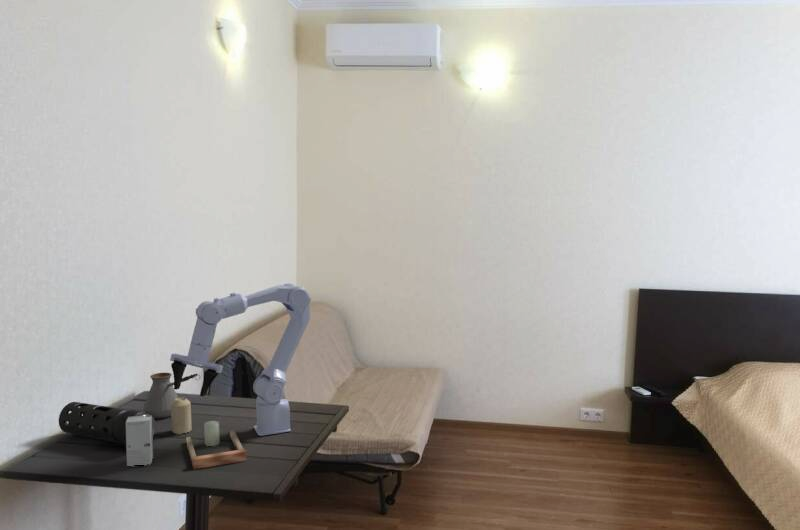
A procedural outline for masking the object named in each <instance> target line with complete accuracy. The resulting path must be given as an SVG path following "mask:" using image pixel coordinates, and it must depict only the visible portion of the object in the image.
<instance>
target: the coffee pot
mask: <svg viewBox="0 0 800 530" xmlns="http://www.w3.org/2000/svg"><path fill="white" fill-rule="evenodd" d="M172 376H173V375H172V373H170V372H159V373H158V372H157V373H153V374H151V375H150V379H151V380H152V383H151V386H150V389H149V391H148V394H147V396H146V399H145V401H144V405H143V411H144V412H146V413H148V414H149V415H151V416H152V417H153V418H154V419H164V418H169V417H170V418H171V403H172V402H173V401H174V400H175V399H176V398H177V399H178V398H179V396H178V394H177V392H176V389H174V381H173V382H171V377H172ZM197 376H198V377H199V378H198V379H197V378H196V377H197ZM190 379H194V380H195V381H198V380H201V375H200V374H198V373H194V374H189V375H188V376H184V377H182V381H181V383H184V382H187V381H189V380H190Z"/></svg>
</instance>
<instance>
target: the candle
mask: <svg viewBox="0 0 800 530" xmlns="http://www.w3.org/2000/svg"><path fill="white" fill-rule="evenodd" d="M191 406H192V404H191V401H190V400H188V399H187V398H186V397H178V399H177V398H176V399H175V400H174V401H173V402H172V403H171V416H170V418H171V431H172V432H173V433H176V434H175V435H183V434H182V433H186V434H188V433H187V432H189V433H191V432H192V429H193V428H192V410H191V409H192V408H191ZM190 431H191V432H190ZM172 432H171V433H172ZM173 433H172V434H173Z"/></svg>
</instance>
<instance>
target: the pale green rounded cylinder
mask: <svg viewBox="0 0 800 530" xmlns="http://www.w3.org/2000/svg"><path fill="white" fill-rule="evenodd" d="M203 427H204V431H203V432H204V446H205V445H206V447H208V446H213V447H216V446H215V445H217V446H219V445H220V443H221V441H220V439H221V438H220V421H217V420H210V421H206V422H204V423H203ZM218 444H219V445H218Z"/></svg>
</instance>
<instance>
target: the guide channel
mask: <svg viewBox="0 0 800 530" xmlns="http://www.w3.org/2000/svg"><path fill="white" fill-rule="evenodd" d="M229 436H230V439H231V441H232V443H233V445H234V447H236V448H235V450H230V451H223V452H217V453H209V454H204V455H203V454H202V455H197V454H196V451H195V448H194V444H193V440H192V437H191V436H187V437H185V443H187V444H186V447H187V450H189V451H188V454H189V458H190V461H192V462H191V464H192V468H193V470H198V469H205V468H210V467H211V468H212V467H217V466H221V465H228V464H233V463H234V464H235V463H241V462H246V461H247V458H248V457H247V450H246V448H244V447H243V445H242V443H241V442H240V440H239V437H238V435H237V434H236V432H235V430H230V431H229ZM236 449H237V450H236Z"/></svg>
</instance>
